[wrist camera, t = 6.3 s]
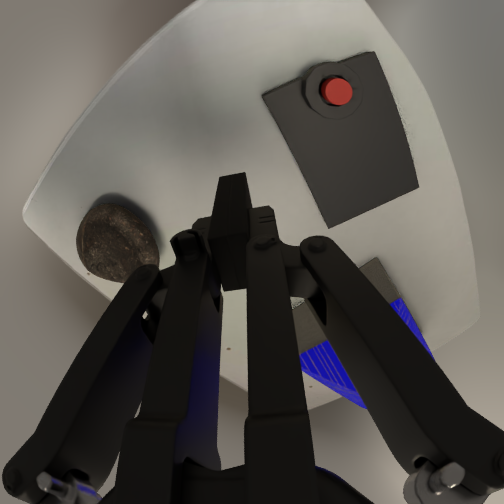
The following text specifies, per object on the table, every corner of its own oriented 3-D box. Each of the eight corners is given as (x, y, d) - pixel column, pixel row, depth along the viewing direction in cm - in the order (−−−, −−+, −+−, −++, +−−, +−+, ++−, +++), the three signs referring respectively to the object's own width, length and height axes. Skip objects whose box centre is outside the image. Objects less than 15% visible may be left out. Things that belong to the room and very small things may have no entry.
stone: (134, 286, 39) (124, 311, 34) (73, 241, 34) (56, 264, 30) (181, 235, 34) (173, 260, 30) (109, 180, 30) (91, 199, 26)
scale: (257, 89, 25) (259, 91, 22) (365, 46, 22) (379, 44, 19) (325, 221, 34) (332, 237, 31) (412, 181, 30) (427, 194, 28)
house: (423, 334, 48) (452, 402, 35) (353, 373, 53) (369, 441, 41) (377, 254, 36) (426, 349, 24) (281, 314, 42) (292, 413, 29)
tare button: (316, 83, 22) (320, 84, 21) (340, 73, 21) (345, 74, 20) (327, 107, 23) (332, 109, 22) (350, 97, 22) (356, 99, 21)
